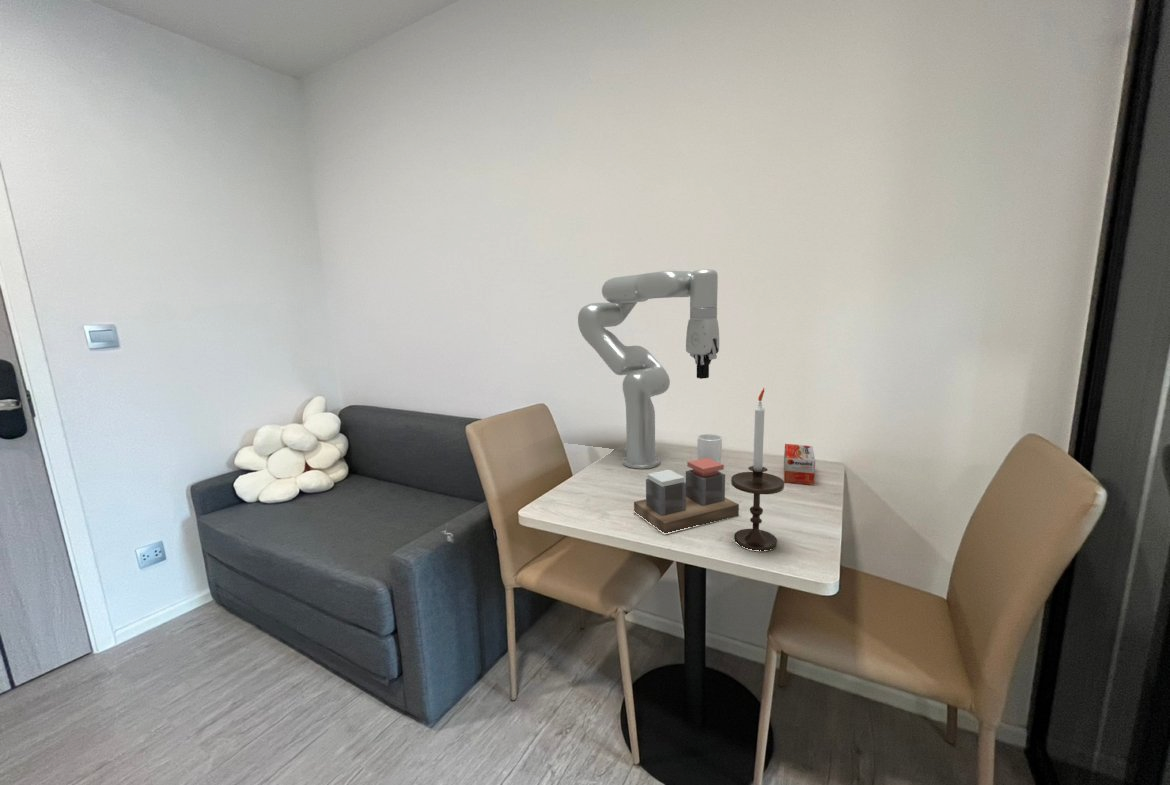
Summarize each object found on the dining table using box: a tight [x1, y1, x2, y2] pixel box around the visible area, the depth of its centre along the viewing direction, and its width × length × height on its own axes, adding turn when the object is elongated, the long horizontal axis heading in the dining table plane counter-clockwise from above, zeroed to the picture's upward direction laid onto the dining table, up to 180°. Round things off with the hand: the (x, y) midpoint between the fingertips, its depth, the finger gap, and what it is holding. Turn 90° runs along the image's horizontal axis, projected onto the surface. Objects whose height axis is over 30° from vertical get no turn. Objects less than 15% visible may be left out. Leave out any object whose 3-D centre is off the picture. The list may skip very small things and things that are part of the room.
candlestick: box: [730, 387, 785, 551], centre depth 105 cm, size 11×11×35 cm
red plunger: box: [686, 458, 725, 477], centre depth 124 cm, size 6×6×8 cm
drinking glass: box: [696, 433, 723, 472], centre depth 140 cm, size 7×7×15 cm
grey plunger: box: [647, 469, 685, 487], centre depth 119 cm, size 6×6×8 cm
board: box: [633, 469, 740, 533], centre depth 122 cm, size 14×22×10 cm, turn 115°
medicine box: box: [783, 443, 816, 486], centre depth 147 cm, size 15×8×8 cm, turn 159°
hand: (702, 377), depth 141 cm, fingers closed
